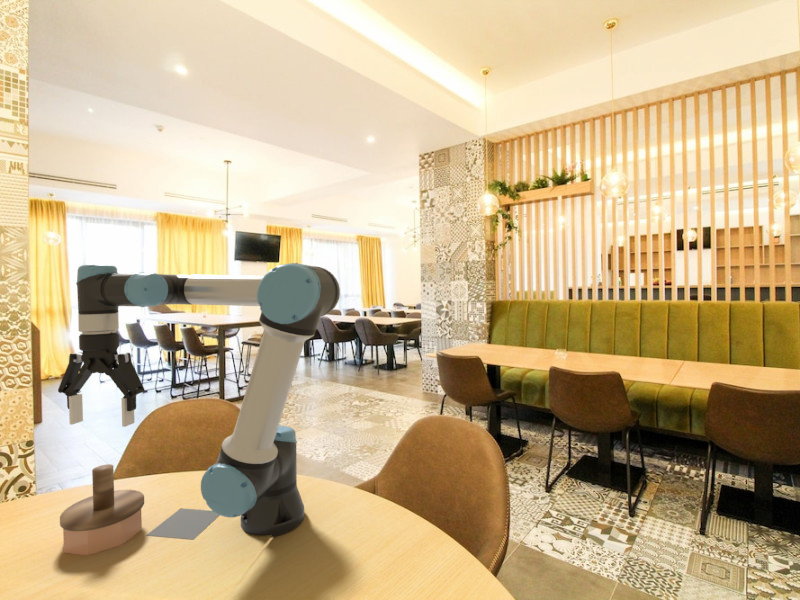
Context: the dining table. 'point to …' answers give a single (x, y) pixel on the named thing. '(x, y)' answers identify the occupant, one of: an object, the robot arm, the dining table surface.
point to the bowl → (102, 536)
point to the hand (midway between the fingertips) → (102, 423)
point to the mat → (185, 524)
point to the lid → (102, 504)
